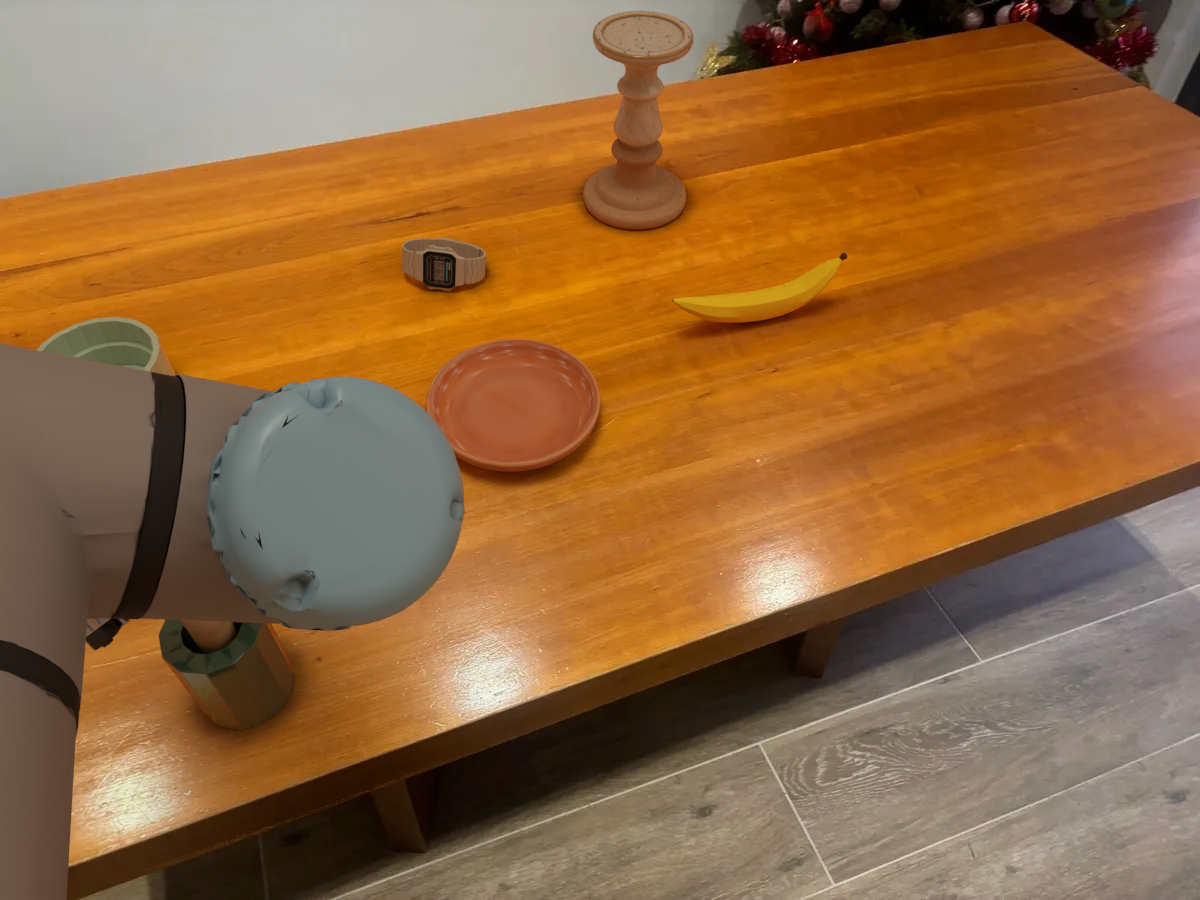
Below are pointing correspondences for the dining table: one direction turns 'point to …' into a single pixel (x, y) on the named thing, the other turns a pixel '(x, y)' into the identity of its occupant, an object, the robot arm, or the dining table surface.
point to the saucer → (514, 404)
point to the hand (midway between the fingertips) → (142, 546)
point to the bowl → (112, 344)
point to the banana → (763, 298)
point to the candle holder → (638, 122)
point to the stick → (211, 634)
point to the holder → (232, 673)
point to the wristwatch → (443, 262)
